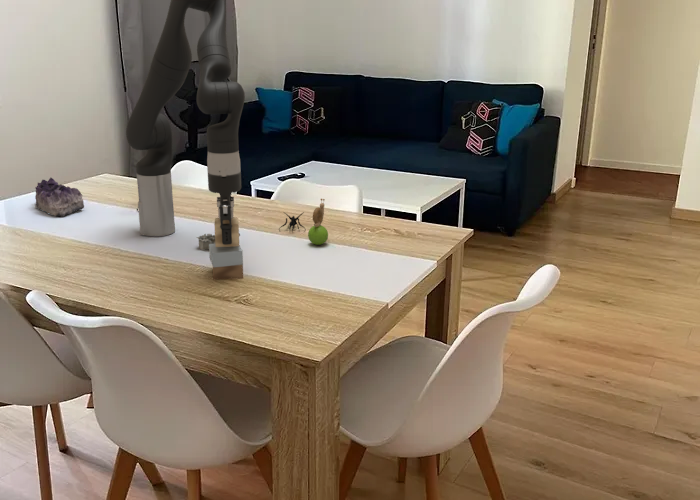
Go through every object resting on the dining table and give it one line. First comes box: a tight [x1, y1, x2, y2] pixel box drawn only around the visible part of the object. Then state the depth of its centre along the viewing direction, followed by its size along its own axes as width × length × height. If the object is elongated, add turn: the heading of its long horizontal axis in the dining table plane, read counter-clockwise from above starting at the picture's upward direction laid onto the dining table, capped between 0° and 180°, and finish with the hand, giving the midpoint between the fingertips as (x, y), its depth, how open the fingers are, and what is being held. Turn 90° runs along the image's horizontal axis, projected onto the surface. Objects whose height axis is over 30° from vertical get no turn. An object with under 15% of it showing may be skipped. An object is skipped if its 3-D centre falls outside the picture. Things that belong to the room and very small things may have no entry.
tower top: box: [208, 244, 244, 268], centre depth 174 cm, size 7×7×4 cm
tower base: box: [212, 264, 244, 281], centre depth 175 cm, size 7×7×4 cm
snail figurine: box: [307, 198, 329, 246], centre depth 195 cm, size 5×6×12 cm
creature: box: [278, 212, 306, 233], centre depth 208 cm, size 8×5×8 cm
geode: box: [35, 177, 85, 217], centre depth 226 cm, size 20×12×10 cm, turn 49°
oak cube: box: [214, 216, 240, 247], centre depth 172 cm, size 6×6×6 cm
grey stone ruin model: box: [196, 232, 241, 251], centre depth 193 cm, size 10×7×4 cm
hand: (227, 239), depth 172 cm, fingers closed on oak cube, 5 cm apart
